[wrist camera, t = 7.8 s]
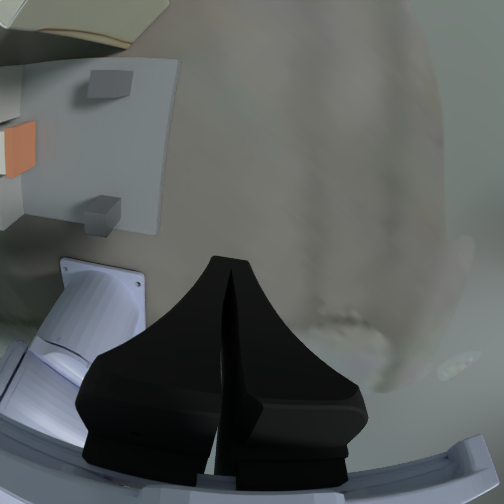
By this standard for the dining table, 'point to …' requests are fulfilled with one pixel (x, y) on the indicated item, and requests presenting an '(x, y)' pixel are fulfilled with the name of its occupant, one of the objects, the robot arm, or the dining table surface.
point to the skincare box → (83, 18)
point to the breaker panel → (91, 141)
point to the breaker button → (17, 148)
